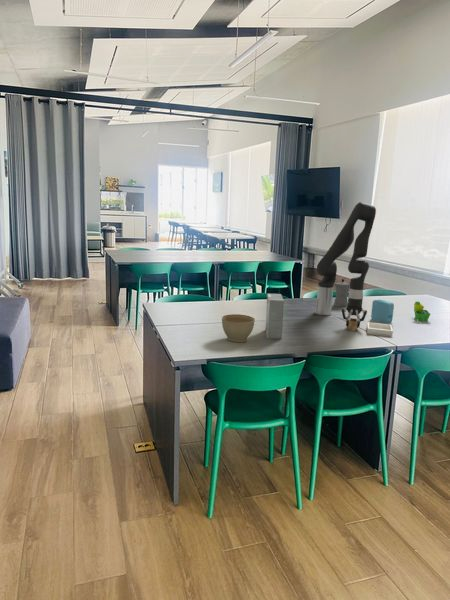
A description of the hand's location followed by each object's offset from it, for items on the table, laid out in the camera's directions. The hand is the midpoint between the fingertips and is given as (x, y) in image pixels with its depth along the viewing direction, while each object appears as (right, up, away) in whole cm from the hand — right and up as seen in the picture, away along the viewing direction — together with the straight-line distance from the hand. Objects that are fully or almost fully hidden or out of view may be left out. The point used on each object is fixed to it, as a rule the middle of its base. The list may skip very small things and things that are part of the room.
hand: (352, 327), depth 252 cm
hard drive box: (-45, -3, -16) cm, 48 cm away
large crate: (+13, -2, -4) cm, 14 cm away
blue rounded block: (+22, +2, +19) cm, 30 cm away
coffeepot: (+9, +11, +58) cm, 60 cm away
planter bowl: (-64, -5, -27) cm, 70 cm away
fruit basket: (+48, +3, +26) cm, 55 cm away
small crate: (0, -1, 0) cm, 1 cm away
